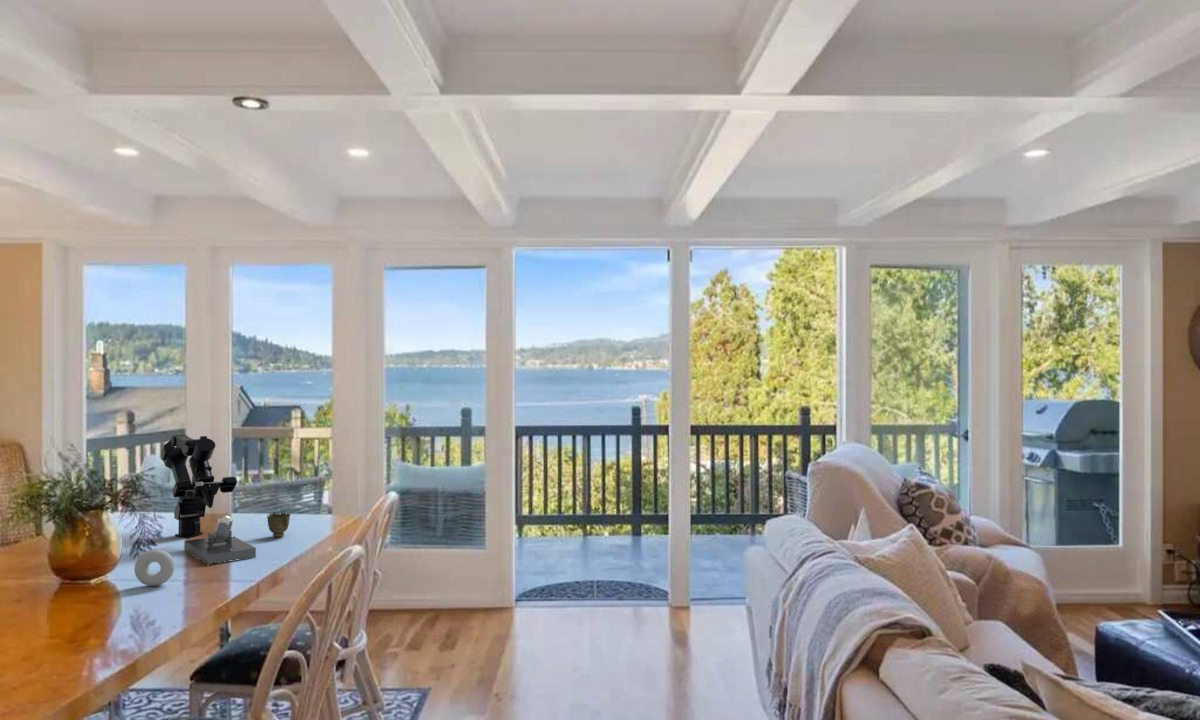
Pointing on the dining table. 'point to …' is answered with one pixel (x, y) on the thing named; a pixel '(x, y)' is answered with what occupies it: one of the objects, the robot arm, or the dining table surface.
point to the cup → (278, 523)
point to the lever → (222, 529)
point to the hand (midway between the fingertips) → (210, 507)
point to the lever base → (219, 549)
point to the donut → (151, 578)
